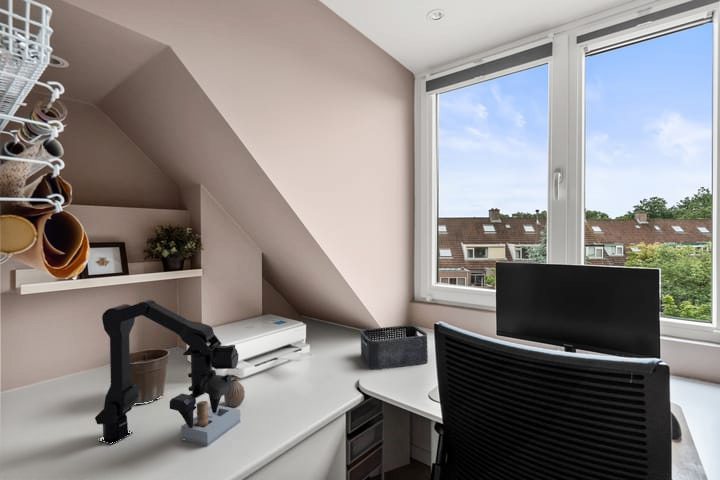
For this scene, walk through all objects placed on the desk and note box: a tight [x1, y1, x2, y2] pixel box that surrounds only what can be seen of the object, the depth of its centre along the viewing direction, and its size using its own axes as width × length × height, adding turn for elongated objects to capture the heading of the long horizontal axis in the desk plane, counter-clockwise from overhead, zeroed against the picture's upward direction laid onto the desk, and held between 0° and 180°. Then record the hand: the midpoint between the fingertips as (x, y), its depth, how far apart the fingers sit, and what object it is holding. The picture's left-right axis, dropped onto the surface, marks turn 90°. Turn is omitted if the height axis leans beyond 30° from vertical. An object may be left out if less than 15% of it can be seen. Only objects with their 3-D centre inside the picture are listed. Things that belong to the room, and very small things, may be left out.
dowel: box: [196, 400, 209, 428], centre depth 109 cm, size 3×3×9 cm
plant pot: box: [130, 348, 171, 403], centre depth 135 cm, size 16×16×16 cm
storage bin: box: [360, 324, 429, 370], centre depth 171 cm, size 29×19×13 cm
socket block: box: [180, 405, 241, 447], centre depth 112 cm, size 10×14×4 cm
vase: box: [223, 378, 246, 408], centre depth 129 cm, size 7×7×9 cm
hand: (203, 419), depth 109 cm, fingers open, 9 cm apart
